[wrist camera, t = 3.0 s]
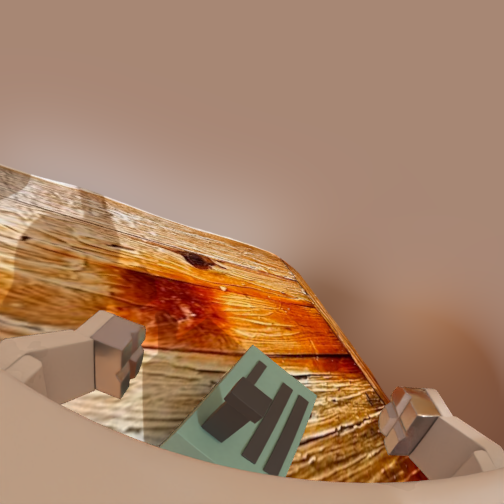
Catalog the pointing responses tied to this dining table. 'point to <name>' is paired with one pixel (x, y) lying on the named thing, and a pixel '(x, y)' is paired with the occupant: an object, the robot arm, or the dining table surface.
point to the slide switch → (237, 410)
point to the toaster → (250, 435)
